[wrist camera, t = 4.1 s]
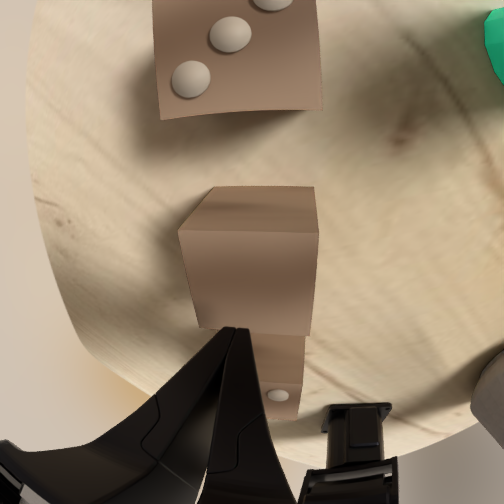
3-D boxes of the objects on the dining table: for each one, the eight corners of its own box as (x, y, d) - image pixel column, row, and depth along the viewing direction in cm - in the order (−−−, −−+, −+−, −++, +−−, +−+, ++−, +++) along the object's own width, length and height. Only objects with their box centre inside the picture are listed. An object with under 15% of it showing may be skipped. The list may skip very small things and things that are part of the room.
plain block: (310, 270, 16) (309, 336, 12) (224, 267, 17) (199, 327, 13) (313, 186, 13) (319, 233, 9) (214, 186, 14) (177, 230, 10)
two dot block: (300, 364, 21) (296, 422, 16) (235, 359, 22) (221, 414, 17) (305, 320, 18) (302, 386, 14) (229, 315, 19) (209, 377, 15)
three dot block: (314, 105, 11) (323, 110, 7) (204, 110, 12) (154, 121, 8) (308, 8, 9) (311, -37, 4) (197, 18, 10) (146, -11, 5)
